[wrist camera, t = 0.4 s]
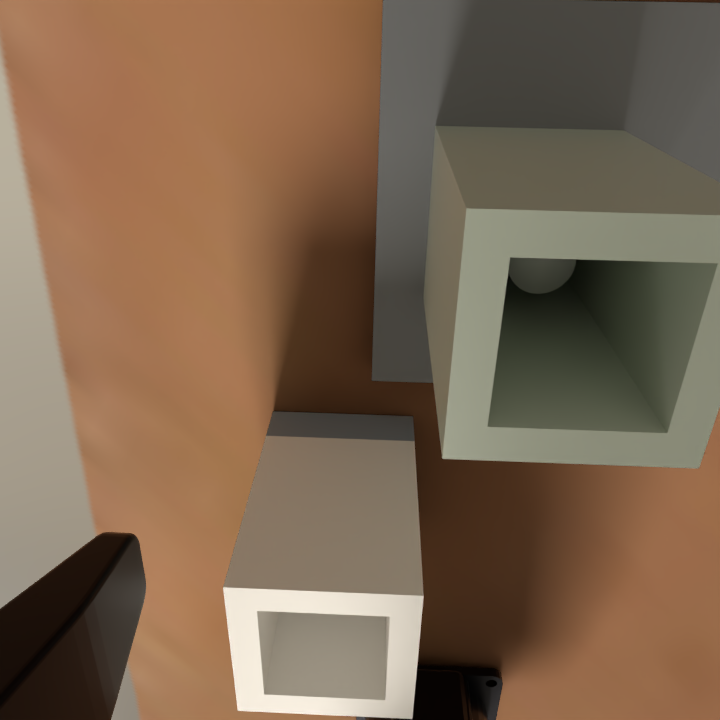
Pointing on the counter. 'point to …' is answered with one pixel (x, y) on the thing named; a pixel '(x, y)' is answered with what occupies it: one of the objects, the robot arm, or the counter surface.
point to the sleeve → (329, 570)
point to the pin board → (552, 226)
